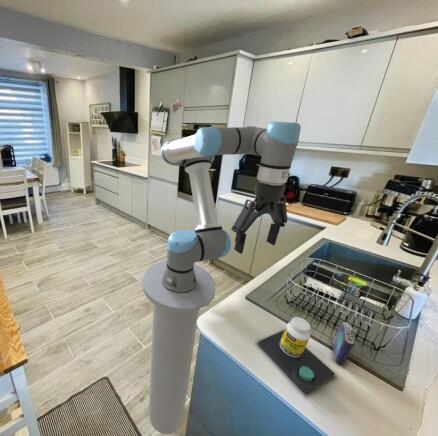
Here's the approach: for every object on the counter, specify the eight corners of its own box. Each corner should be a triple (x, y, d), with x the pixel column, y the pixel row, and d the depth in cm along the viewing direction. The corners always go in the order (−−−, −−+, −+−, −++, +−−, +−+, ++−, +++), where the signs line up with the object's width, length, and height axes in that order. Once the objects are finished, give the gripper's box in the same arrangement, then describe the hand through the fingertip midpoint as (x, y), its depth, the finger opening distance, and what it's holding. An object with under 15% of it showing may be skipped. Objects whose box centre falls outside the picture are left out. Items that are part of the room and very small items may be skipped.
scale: (256, 344, 76) (258, 338, 75) (284, 332, 81) (286, 325, 80) (305, 397, 63) (309, 390, 61) (335, 378, 67) (339, 371, 66)
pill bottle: (277, 351, 73) (287, 325, 68) (280, 336, 78) (290, 311, 73) (301, 362, 70) (313, 336, 65) (303, 347, 74) (314, 321, 70)
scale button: (296, 372, 66) (297, 368, 65) (303, 368, 67) (305, 364, 66) (307, 383, 63) (308, 380, 63) (315, 378, 64) (316, 375, 64)
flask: (332, 339, 79) (344, 316, 74) (343, 344, 77) (356, 320, 73) (333, 362, 71) (347, 337, 67) (346, 368, 70) (360, 343, 66)
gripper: (246, 190, 59) (232, 262, 68) (313, 181, 68) (293, 245, 77) (226, 182, 65) (215, 248, 74) (290, 174, 74) (273, 234, 83)
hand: (254, 247), depth 76 cm, fingers open, 13 cm apart
